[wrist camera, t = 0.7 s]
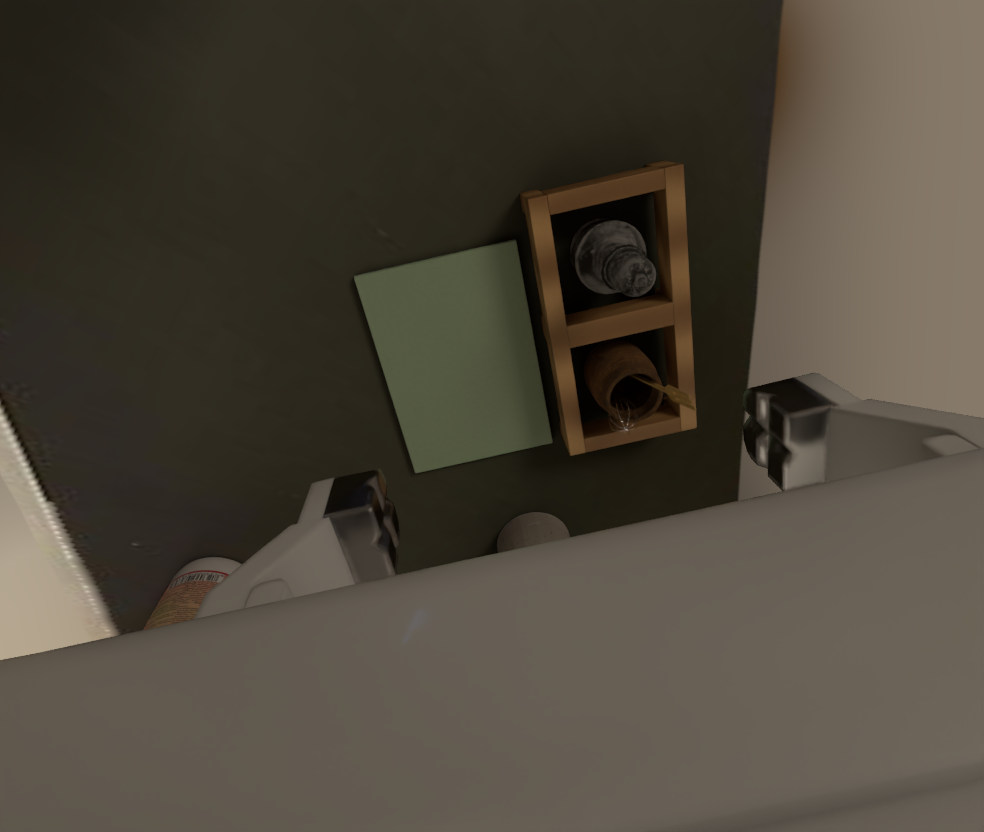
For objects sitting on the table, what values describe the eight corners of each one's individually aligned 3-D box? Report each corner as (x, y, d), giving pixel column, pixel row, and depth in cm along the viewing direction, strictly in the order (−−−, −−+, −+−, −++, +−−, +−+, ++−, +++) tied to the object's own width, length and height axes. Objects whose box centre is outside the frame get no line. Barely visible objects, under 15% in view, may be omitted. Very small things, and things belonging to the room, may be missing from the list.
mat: (354, 275, 50) (353, 277, 49) (515, 238, 50) (516, 240, 49) (415, 470, 59) (415, 473, 58) (551, 440, 59) (552, 442, 58)
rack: (519, 193, 48) (527, 199, 44) (662, 160, 48) (683, 163, 44) (560, 433, 59) (570, 456, 55) (678, 407, 58) (697, 427, 54)
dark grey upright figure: (646, 253, 51) (702, 286, 41) (592, 297, 53) (633, 341, 42) (607, 199, 49) (656, 219, 38) (552, 246, 50) (585, 279, 40)
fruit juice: (198, 539, 60) (31, 834, 35) (281, 578, 63) (182, 874, 38) (157, 598, 63) (-23, 909, 38) (239, 633, 66) (122, 941, 41)
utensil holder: (570, 357, 55) (603, 414, 44) (630, 323, 54) (679, 372, 43) (597, 405, 57) (634, 470, 47) (655, 373, 57) (707, 431, 46)
